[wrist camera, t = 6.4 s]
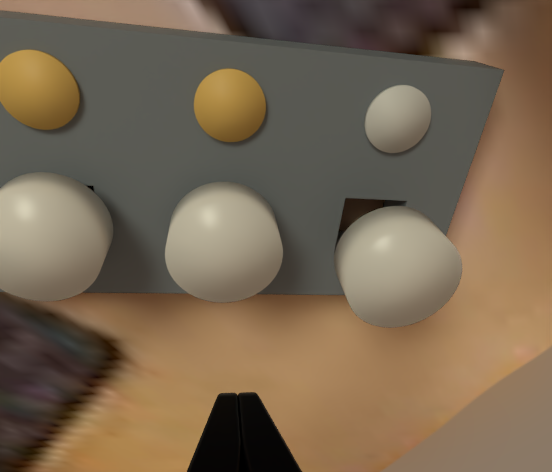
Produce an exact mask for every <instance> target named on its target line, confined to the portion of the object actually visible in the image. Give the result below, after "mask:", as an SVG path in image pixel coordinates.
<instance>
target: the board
mask: <svg viewBox="0 0 552 472" xmlns="http://www.w3.org/2000/svg"><path fill="white" fill-rule="evenodd" d="M503 72H504V70H502V69H499V68H495V67H492V66H489V65H485V64H482V63H478V62H475V61H467V60H457V59H448V58H439V57H429V56H420V55H411V54H401V53H392V52H383V51H374V50H364V49H355V48H346V47H336V46H327V45H318V44H308V43H299V42H290V41H280V40H271V39H262V38H252V37H243V36H234V35H224V34H215V33H206V32H197V31H187V30H178V29H169V28H159V27H150V26H141V25H131V24H122V23H113V22H103V21H94V20H85V19H75V18H66V17H57V16H48V15H38V14H29V13H20V12H10V11H1V10H0V188H1V187H2V186H4V185H5V184H6V183H7V182H8V181H10V180H12V179H13V178H16V177H18V176H20V175H24V174H28V173H35V172H48V173H56V174H60V175H64V176H67V177H70V178H72V179H74V180H77V181H79V182H80V183H82V184H84V185H88V186H94V193H95V194H96V195H98V197H99V198H100V199H101V200H102V201H103V203H104V204H105V206H106V207H107V209H108V211H109V213H110V216H111V219H112V223H113V238H112V242H111V245H110V247H109V250H108V252H107V255H106V257H105V260H104V262H103V265H102V267H101V270H100V272H99V274H98V276H97V278H96V280H95V281H94V282H93V284H92V285H91V286H89V287H88V288H87V289H86V290H85V291H83V292H90V293H187V292H186V291H185V290H183V289H182V288H181V287H180V286H179V285H178V284H177V283H176V282H175V281H174V280H173V278H172V277H171V275H170V273H169V271H168V269H167V265H166V261H165V247H166V242H167V237H168V231H169V226H170V221H171V216H172V214H173V211H174V209H175V207H176V206H177V204H178V203H179V202H180V200H181V199H182V198H183V197H184V196H185V195H186V194H188V193H189V192H191V191H192V190H194V189H196V188H197V187H200V186H202V185H205V184H209V183H213V182H234V183H238V184H242V185H245V186H247V187H249V188H251V189H253V190H255V191H256V192H258V193H259V194H260V195H261V196H263V197H264V198H265V200H266V201H267V202H268V203H269V205H270V206H271V208H272V210H273V212H274V215H275V219H276V223H277V226H278V230H279V234H280V238H281V242H282V246H283V258H282V263H281V266H280V269H279V271H278V273H277V275H276V276H275V278H274V279H273V280H272V282H271V283H270V284H269V285H268V286H267V287H266V288H264V289H263V290H262V291H260V292H259V293H257V294H294V295H345V293H344V291H343V288H342V286H341V284H340V281H339V279H338V277H337V274H336V271H335V267H334V254H335V250H336V246H337V244H338V242H339V240H340V238H341V236H342V235H343V233H344V232H345V231H339V226H340V221H341V217H342V212H343V207H344V202H345V198H358V199H379V200H385V202H384V206H383V207H389V206H405V207H410V208H414V209H416V210H419V211H420V212H422V213H424V214H425V215H426V216H427V217H428V218H429V219H430V220H431V221H432V222H433V223H434V224H435V225H436V226H437V227H438V228H439V229H440V231H441V232H442V233H443V234H444V235H445V236H446V234H447V231H448V228H449V225H450V222H451V220H452V217H453V214H454V211H455V208H456V205H457V203H458V200H459V197H460V194H461V191H462V188H463V186H464V183H465V180H466V177H467V174H468V171H469V169H470V166H471V163H472V160H473V157H474V154H475V152H476V149H477V146H478V143H479V140H480V137H481V135H482V132H483V129H484V126H485V123H486V120H487V118H488V115H489V112H490V109H491V106H492V103H493V101H494V98H495V95H496V92H497V89H498V86H499V84H500V81H501V78H502V75H503ZM0 292H5V291H3V290H2V289H0Z"/></svg>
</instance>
